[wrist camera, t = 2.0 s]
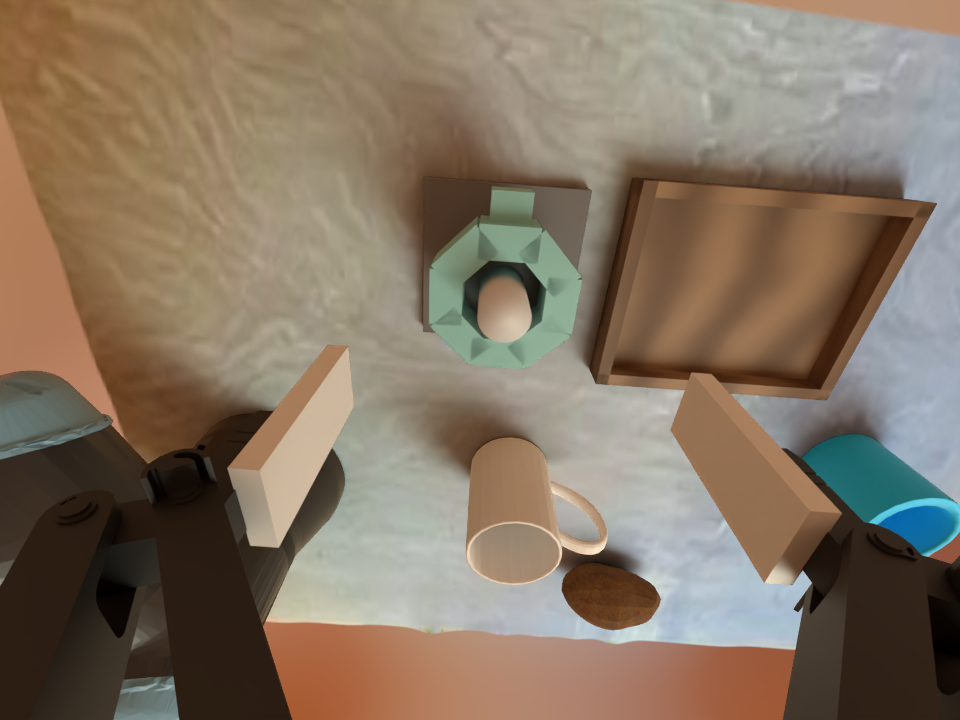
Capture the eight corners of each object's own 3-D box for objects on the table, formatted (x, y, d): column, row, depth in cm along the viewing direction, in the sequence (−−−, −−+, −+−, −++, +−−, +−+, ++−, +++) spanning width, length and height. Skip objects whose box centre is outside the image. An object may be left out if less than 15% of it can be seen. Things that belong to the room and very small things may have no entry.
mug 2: (826, 426, 40) (902, 489, 32) (900, 443, 40) (989, 508, 33) (758, 510, 45) (809, 581, 38) (823, 524, 46) (886, 595, 39)
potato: (639, 590, 52) (659, 650, 46) (550, 581, 52) (558, 641, 45) (656, 556, 49) (680, 615, 43) (562, 546, 48) (572, 604, 42)
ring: (433, 342, 29) (428, 362, 27) (436, 182, 24) (430, 186, 22) (557, 351, 30) (564, 372, 27) (586, 193, 25) (597, 199, 22)
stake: (424, 327, 35) (398, 400, 25) (425, 176, 30) (392, 193, 20) (562, 337, 36) (591, 414, 25) (589, 189, 30) (639, 212, 20)
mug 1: (470, 491, 45) (465, 583, 35) (471, 434, 41) (466, 519, 32) (581, 495, 44) (606, 588, 35) (593, 438, 41) (623, 525, 31)
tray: (589, 369, 37) (595, 383, 35) (632, 177, 30) (644, 180, 27) (806, 385, 37) (826, 400, 35) (904, 198, 30) (937, 203, 28)
